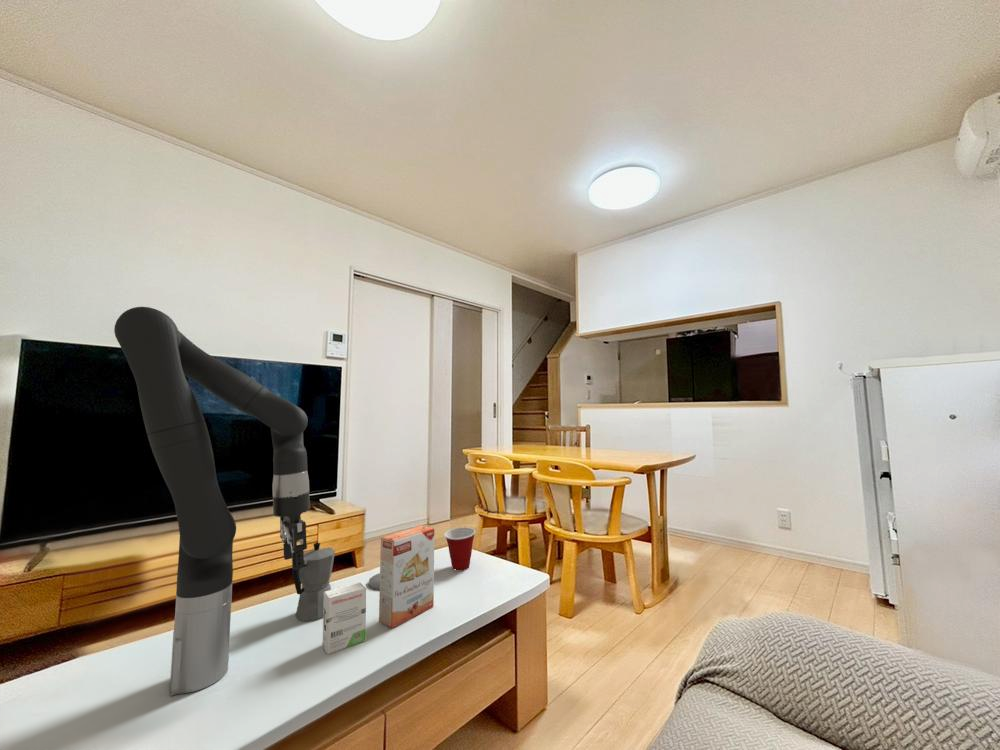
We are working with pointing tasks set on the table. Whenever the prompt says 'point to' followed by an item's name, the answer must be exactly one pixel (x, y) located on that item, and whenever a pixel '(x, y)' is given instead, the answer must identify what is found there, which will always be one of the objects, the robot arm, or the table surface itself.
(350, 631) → the ink box
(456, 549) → the plastic cup
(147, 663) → the table surface
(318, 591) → the coffeepot
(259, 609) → the table surface
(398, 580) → the cracker box
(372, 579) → the glossy grey dome
